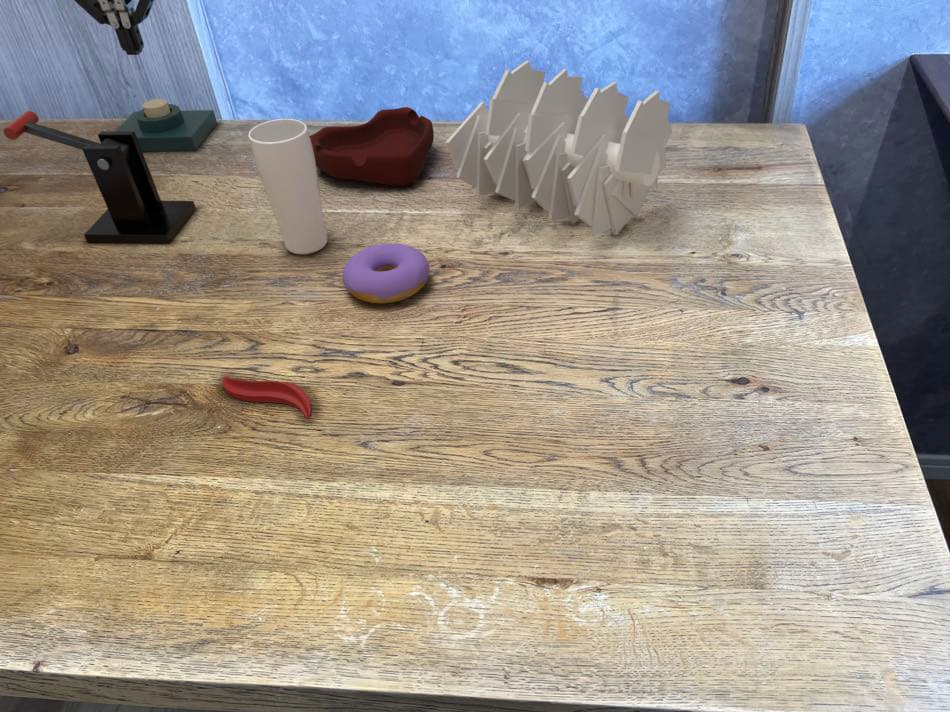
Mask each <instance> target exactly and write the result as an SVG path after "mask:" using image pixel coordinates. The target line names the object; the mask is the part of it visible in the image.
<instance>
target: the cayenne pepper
mask: <svg viewBox="0 0 950 712" xmlns="http://www.w3.org/2000/svg"><path fill="white" fill-rule="evenodd" d="M221 382H222V387H223V390H224V391H225V393H226V394H228V395H230V396H231V397H232V398H235V399H237V400H240V401H241V400H242V401H247V402H256V403H277V404H278V403H279V404H284V405H285V404H286V405H290V406H292V407H295V408H297V409H298V410H299V411H300V412H301V413H302V414H303V416H304V417H305V418H306V419H307V420H309V418H310V417H311V415H312V405H311V401H310V398H309V396H308V394H307V393H306V392H305V390H304V389H303V388H302V387H301V386H299V385H298V384H295V383H293V382H286V381H283V382H282V381H277V380H259V381H258V380H257V381H254V380H246V379H239V378H232V377H229V376H227V375H224V376H223V378H222V381H221Z"/></svg>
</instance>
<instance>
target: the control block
mask: <svg viewBox="0 0 950 712" xmlns="http://www.w3.org/2000/svg"><path fill="white" fill-rule="evenodd" d="M168 106H169V109H170V112H171V113H170V114H168V115H166V116H163V117H159V118H147V117H146V114H145V112H144V109H143V108H142V109H141V110H139V111H138V110H137V111H133V112H132V113H131V114H130V115H129V116H128V117H127V118H126V119H125V120H124V121H123V122H122V123H121V124H120V125H119V127H117V129H115V131H135V134H136V136H137V139H138V142H139V144H140V147H141V149H142V152H190V151H192V152H194V151H197V150H198V149H199V148H200V146H201V145H202V144H203V142H204V141H205V140H206V138H207V137H208V136H209V135H210V133H211V132H212V131H213V130H214V128H215V127H216V126H217V125H218V119H217V117H216V114H215V111H214V110H213V109H206V110H205V109H202V110H201V109H200V110H199V109H197V110H196V109H195V110H181V108H180V106H179V105H176V104H172V103H168Z"/></svg>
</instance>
